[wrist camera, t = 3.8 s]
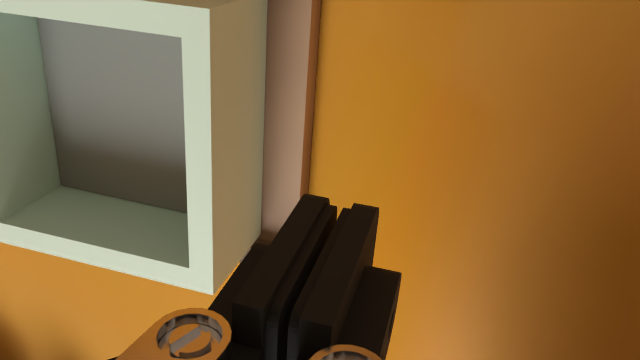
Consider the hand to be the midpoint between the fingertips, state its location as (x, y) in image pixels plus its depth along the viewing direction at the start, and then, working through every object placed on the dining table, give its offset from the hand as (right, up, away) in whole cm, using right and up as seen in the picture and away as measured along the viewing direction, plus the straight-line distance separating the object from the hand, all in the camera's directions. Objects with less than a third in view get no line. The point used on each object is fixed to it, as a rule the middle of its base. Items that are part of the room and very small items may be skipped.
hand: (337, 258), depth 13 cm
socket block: (-7, +5, +10) cm, 13 cm away
